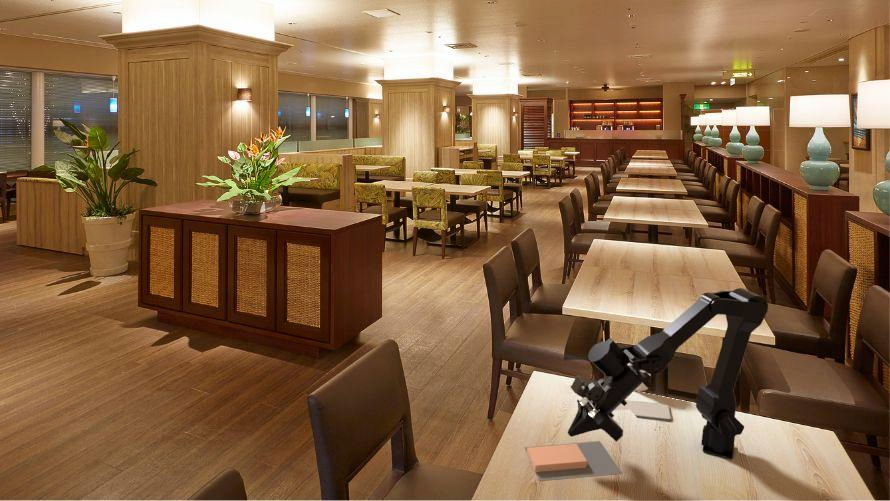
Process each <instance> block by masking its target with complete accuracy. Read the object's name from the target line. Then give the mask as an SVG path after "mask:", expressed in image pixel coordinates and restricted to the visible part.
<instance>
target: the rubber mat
mask: <svg viewBox="0 0 890 501" xmlns="http://www.w3.org/2000/svg"><path fill="white" fill-rule="evenodd" d="M567 444H568V443H560V444H557V445H567ZM569 444H577V446H578V447H579V449H580V450H581V452H582V454H583V455H584V457H585V459H586V460H587V467H586V468H576V469H564V470H553V471H541V472H536V471H535V470H534V472H535V474H536V476H537V479H538V481H539V482H542V481H543V482H544V481H554V480H555V481H557V480H565V479H566V480H567V479H568V480H569V479H576V478H579V479H580V478H591V477H598V476H599V477H601V476H610V475H622V474H623V472H622V471H621V469H620V468H619V467H618V465H617V463H616V462H615V461H614V459H613V458H612V456H611V455H610V453H609V452H608V451H607V449H606V447H605V446H604V445H603V443H602V442H601V441H600V440H597V441H585V442H584V441H583V442H571V443H569ZM555 445H556V444H549V445H546V444H545V446H555ZM542 446H543V445H534V446H533V447H542ZM530 447H531V446H524V450H525V452H526V453H527V448H530ZM531 465H532V464H531ZM532 467H533V465H532Z"/></svg>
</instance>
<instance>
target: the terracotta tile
mask: <svg viewBox="0 0 890 501" xmlns="http://www.w3.org/2000/svg"><path fill="white" fill-rule="evenodd" d="M566 444H567V445H558V444H554V445H555V446H546V445H541V446H542V447H534V446H529V447H530V448H527V452H526V455H527V457H528V459H529V461H530V463H531V465H533V466H532V467H533V470H534V472H535V471H536V472H541V471H553V470H564V469H576V468H586V467H587V460H586V459H585V457H584V455H583V454H582V452H581V450H580V449H579V447H578V446H577V444H570V443H566ZM536 472H535V473H536Z"/></svg>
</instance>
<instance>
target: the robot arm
mask: <svg viewBox="0 0 890 501" xmlns="http://www.w3.org/2000/svg"><path fill="white" fill-rule="evenodd" d="M768 311H769V303H768V302H767V300H766V299H765V298H764V297H763V296H762V295H759V294H756V293H754V292H752V291H750V290H748V289H746V288H744V287H740V288H739V287H738V288H735V289H733V290H720V291H716V292H703V293H702V294H701V295H700V296H699V298H698V299H697V300H696V301H695V302H694V303H693V304H692V305H690V306H689V307H688V308H687V309H686V310H684V312H682V313H681V314H680V315H679V316H678V317H676V319H674V320H673V321H672V322H671V323H670V324H669V325H668V326H666V327H665V328H664V329H662V330H661V331H659V332H658V333H655V334H651V335H648V336H647V337H645V338H643V339H642V340H640V341H639V342H637V343H635V344H634V345H630V346H623V347H619V345H618V343H616V342H615V341H614V340H613V339H612V338H610V337H609V338H608V339H607V340H606V341H605V340H604V341H600V342H598V343H596V344H594V345H593V346H592V347H591V348H590V350H589V352H588V355H587V358H588V360H589V361H590V362H591V363H592V364H593V365H594V366H595V367H596V368H597V369H599V371H600V372H601V373H602V374H604V375H605V376H606V377H608V378H607V379H606V380H605V378H600V379H598V380H597V381H595V380H593V379H591V378H589V377H585V376H583V375H582V374H581V375H580V374H577V375H576V376H575V379H574V380H573V383H572V384H571V386H570V388H571V390H572V391H573V392H574V393H575V394H576V395H577V396H579V397H581V399H580V400H579V399H576V403H577V412H576V414H575V417H574V418H573V420H572V423H571V424H570V427H569V429H568V431H567V435H568V436H570V437H576V436H579V435H582V434H586V433H589V432H593V431H598V430H602V431H603V432H605V433H606V434H607V435H608V436H609V437H610V438H612V439H613V440H614V441H615V442H619V441H620V439H621V438H623V436H624V429H623V428H622V427H621V426H620V425H619V423H618V422H617V421H616V420H615V419H614V418H613V417H615V414H614V413H613V412H614V410H615V409H616V408H617V407H618V406H619V405H620V404H622V405H624V406H625V405H626V404H627V402H626V401H625V400H626V399H627V398H628V397H630V396H631V395H632V393H634V392H635V391H634V390H635V389H636V388H638V387H639V386H640V385H641V384H642V383H643V384H644V385H645V386H646V387H647V388H648V389H650V388H651V386H652V385H651V384H652V383H651V376H652V375H659V374H660V373H662V372H664V370H665V369H666V368H667V367H668V366H669V364H670V363H671V362H672V361H673V359H674V357H675V354H676V351H677V350H679V348H680V347H681V346H682V345H683V344H684V343H686V342H687V341H688V340H689V339H690V338H692V337H693V336H694V335H695V334H696V333H698V331H700V330H701V329H702V328H703V327H704V326H706V325H707V324H708V323H709V322H710V321H711V320H713V319H714V318H715V317H716V316H717V315H720V316H721V315H725V318H726V322H727V327H726V331H725V333H724V337H723V340H722V344H721V347H720V351H719V354H718V357H717V360H716V364H715V367H714V371H713V374H712V378H711V381H710V383H708V384H707V385H706V386H699V387H698V389H697V395H696V397H695V398H694V399H693V400H694V402H696V403H695V408H696V409H697V411H698V412H699V413H700V414H701V417H702V419H704V420H705V421H706V424H705V425H703V428H702V434H701V446H702V452H703V453H707V454H710V455H715V456H719V457H721V458H722V457H723V458H727V459H730V460H731V459H734V453H735V447H736V446H735V439H736V436H738V435H742V434H743V431H744V429H745V425H743V424H742V422H740V420H738V418H736V417H735V416H736V411H737V402H736V396H735V391H734V390H735V387H736V383H737V380H738V376H739V374H740V371H741V367H742V363H743V360H744V357H745V353H746V351H747V348H748V344H749V342H750V337H751V335H752V334H753V332H754V331H755V330H756V329H757V328H758V327H761V325H762V324H763V321H764V319H765V318H766V315H767V313H768ZM628 363H631V364H632V365H629V366H628V365H627V364H628ZM640 370H643V371H645V372H641V371H640ZM646 372H647V373H646ZM648 373H649V374H651V376H650V375H649V374H648Z"/></svg>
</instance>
